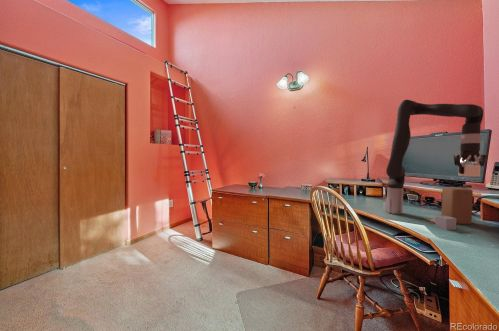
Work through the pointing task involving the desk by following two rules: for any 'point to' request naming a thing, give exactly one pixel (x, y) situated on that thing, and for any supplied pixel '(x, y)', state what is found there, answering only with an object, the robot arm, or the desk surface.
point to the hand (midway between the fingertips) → (468, 173)
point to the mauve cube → (445, 222)
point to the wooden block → (457, 204)
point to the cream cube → (471, 171)
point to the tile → (431, 220)
